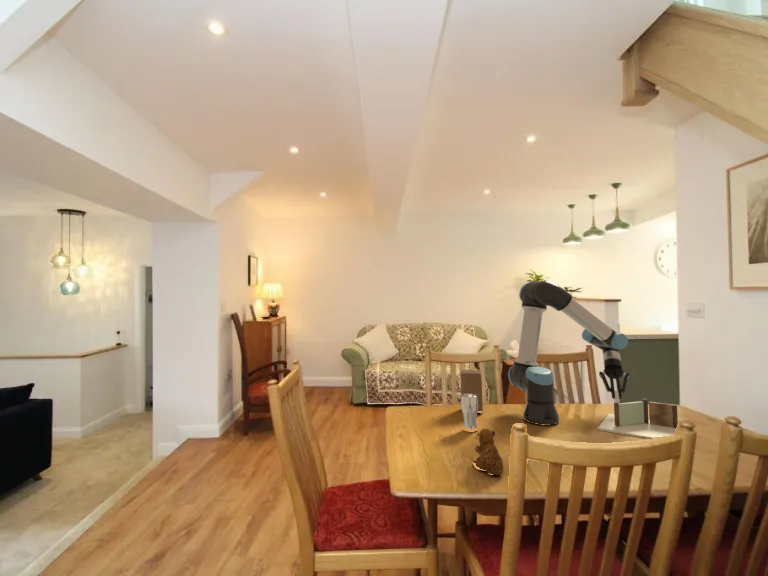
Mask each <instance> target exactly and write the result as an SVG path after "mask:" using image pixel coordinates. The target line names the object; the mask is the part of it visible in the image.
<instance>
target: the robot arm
mask: <svg viewBox="0 0 768 576" xmlns="http://www.w3.org/2000/svg"><path fill="white" fill-rule="evenodd" d="M519 299H520V301H521V309H522V310H523V318H522V325H521V326H522V327H521V331H520V332H521V334H520V341H519V347H518V355H517V358H515V359H514V360H513V365H512V366H511V367H510V368H509V369H508V373H507V376H508V381H509V383H510V384H511V385H512V386H513V387H514V388H516V389H518V390H521V391H523V392H525V393H526V404H525V408H524V411H523V419H524V418H525V419H526V420H528V421H530V422H533V423H538V424H555V423H558V422H559V423H560V417H559V413H558V410H557V408H556V405H555V387H554V386H555V385H554V382H555V379H554V378H555V377H554V373H553V372H552V371H551V369H549V368H547V367H541V366H540V364H539V363H538V362H537V358H538V357H537V356H538V350H539V343H540V342H539V341H540V334H541V327H542V321H543V313H544V312H546V311H547V306H548V307H551V308H553V309H554V310H556V311H557V312H562V313H563V314H565V315H566V316H568V317H569V318H570V319H571V320H573V321H574V322H575V323H577V324H578V325H580V326H581V327H582V328H583V330H582V333H581V338H582V339H583V340H584V341H585V342H587V343H589V344H591V345H592V346H594V347H596V348H598V349H600V350H601V351H602V357H603V365H604V366H603V367H604V369H603V371H599V374H598V375H599V377H600V378H601V379H602V382H603V385H604V387H605V390H606V392H609V393H611V398H612V399H614V402H618V403H620V400H622V393H623V394H624V393H625V392H626V387H627V382H628V379H629V378H630V373H629V372H627V373H626V372H625V370H624V369H623V363H622V359H621V353H620V350H621V349H622V350H623V349H625V348H626V347H627V346H628V342H629V340H628V336H627V335H625V334H624V333H621V332H617V331H616V330H615V329H613V328H612V327H610V326H609V325H607V324H606V323H605V322H604V321H602V320H601V319H599V318H598V317H597V316H596V315H594V314H593V313H592V312H591V311H589V310H588V309H587V308H585V307H584V306H583V305H582V304H580V303H579V302H578V301H577V300H575V299H574V298H573V295H572V294H571V293H570V292H569V291H567V290H566V289H564V288H563V287H562V286H560V285H559V284H557V283H555V282H553V281H550V280H541V281H539V280H537V281H530V282H526V283H524V284H523V285H522V286H521V287H520V289H519ZM622 376H623V382H622V387H621V381H620V379H621V378H622ZM607 378H609V383H610V384H609V383H608V381H607ZM614 380H615V382H616V384H615V382H614ZM615 385H616V389H617V390H615ZM559 423H558V424H559ZM555 425H556V424H555Z"/></svg>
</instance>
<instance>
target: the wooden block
mask: <svg viewBox="0 0 768 576" xmlns="http://www.w3.org/2000/svg"><path fill="white" fill-rule="evenodd" d="M482 383H483V379H482V371H481V369H462V370H461V372H460V390H461V391H460V393H461V398H462V394H475V395H477V401H478V411H484V410H483V409H484V408H483V384H482Z"/></svg>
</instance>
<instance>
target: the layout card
mask: <svg viewBox="0 0 768 576" xmlns="http://www.w3.org/2000/svg"><path fill="white" fill-rule="evenodd" d="M675 429H676V428H672V427H666V426H659V425H653V424H650V421H649V424H645V423H640V424H631V425H622V426H615V417H614V413H608V414H607V416H606V417H605V418H604V419H603V421H602V422H601V423H600V424H599V426H598V427H597V430H599V431H602V432H610V433H614V434H619V433H620V434H621V435H624V434H625V436H630V435H631V437H636V436H637V438H641V437H645V438H644V439H647V440H651V439H650V438H655V437H663V436H670V435H674V433H675Z"/></svg>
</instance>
